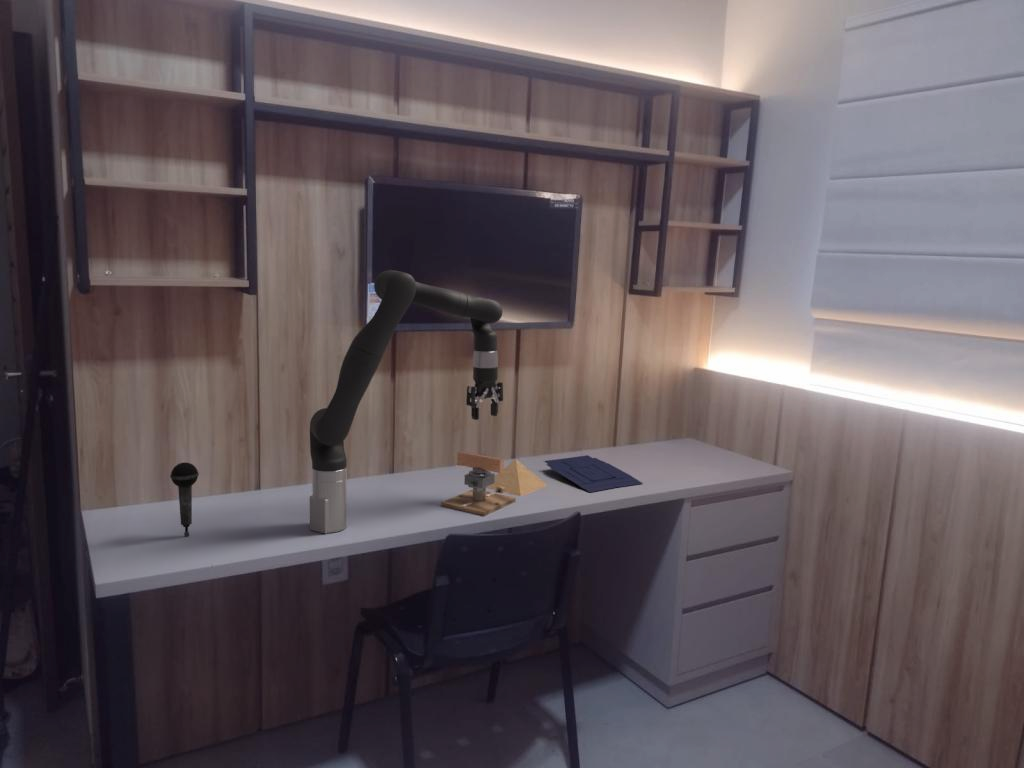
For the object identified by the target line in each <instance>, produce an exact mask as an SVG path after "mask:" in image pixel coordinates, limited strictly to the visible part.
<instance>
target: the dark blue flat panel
mask: <svg viewBox="0 0 1024 768" xmlns="http://www.w3.org/2000/svg"><path fill="white" fill-rule="evenodd" d="M543 462H544V463H545V464H546V465H545V466H547V467H549V468H550V469H551V470H553V471H554V472H555V473H558V474H560V475H561V476H562V477H564V478H566V479H568V480H570V481H571V482H572V483H574V484H576V485H577V486H579V487H580V488H582V489H584V490H585V491H587V492H589V493H593V492H601V491H603V490H609V489H615V488H620V487H628V486H634V485H635V486H636V485H643V484H644V482H641V481H640V480H638V478H635V477H634V476H632V475H630V474H629V473H627V472H625V471H623V470H621V468H617V467H616V466H614V465H612V464H610V463H609V462H606V461H603V460H600V459H599V458H597V457H592V456H590V455H580V456H572V457H567V458H565V457H564V458H558V459H549V460H543Z"/></svg>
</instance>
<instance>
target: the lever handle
mask: <svg viewBox="0 0 1024 768" xmlns="http://www.w3.org/2000/svg"><path fill="white" fill-rule="evenodd" d="M456 456H457V457H456V464H457V466H461V467H466V468H471V469H472V470H470V471H468V473H467V474H464V485H466V486H468V488H471V489H473V487H479V488H484V487H486V486H489V485H491V484H494V477H495V476H496V475H495V473H497V474H498V473H501V472H503V469H504V460H505V459H504V458H500V457H494V456H488V455H484V454H483V455H482V454H477V453H472V452H466V451H462V450H461V451H457V455H456Z"/></svg>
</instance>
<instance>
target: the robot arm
mask: <svg viewBox="0 0 1024 768" xmlns="http://www.w3.org/2000/svg"><path fill="white" fill-rule="evenodd" d="M373 288H374V292H375V294H376V296H377V297H378V298H379V299H380V303H379V305H378V307H377V310H376V312H375V313H374V315H373V316H372V317H371V319H370V320H369V321H368V322H367V323H366V324H365V325H364V326H363V327H362V328H361V330H360V331H358V332H357V334H356V335H355V337H354V338H353V339H352V342H351V343H350V345H349V347H348V349H347V352H346V354H345V356H344V358H343V360H342V364H341V367H340V372H339V376H338V379H337V380H338V381H337V385H336V389H335V391H334V394H333V396H332V398H331V399H330V402H329V403H328V406H327V407H324V408H321V409H318V410H317V411H316V412H315V413H314V414H313V415H312V417H311V419H310V422H309V450H310V452H309V454H310V458H311V470H312V471H311V474H312V475H311V477H312V478H311V483H312V485H311V486H312V487H311V488H312V489H311V491H312V493H311V494H312V495H310V496H309V530H312V531H315V532H318V533H321V534H328V533H329V534H330V533H336V532H337V533H338V532H340V531H344V530H346V528H347V526H348V522H347V519H348V518H347V517H348V515H347V514H348V513H347V512H348V509H347V505H348V504H347V503H348V502H347V501H348V500H347V499H348V498H347V497H348V495H347V494H348V492H347V489H348V488H347V484H348V483H347V481H348V480H347V479H348V478H347V474H348V473H347V472H348V471H347V470H348V468H347V467H348V465H347V462H348V460H347V455H346V452H345V443H344V442H345V440H346V438H347V437H348V435H349V434H350V430H351V427H352V425H353V421H354V420H355V419H354V418H355V416H356V414H357V410H358V408H359V405H360V403H361V402H362V399H363V398H364V395H365V393H366V392H367V390H368V388H369V386H370V384H371V382H372V380H373V377H374V375H375V373H376V371H377V369H378V368H379V365H380V363H381V362H382V359H383V357H384V354H385V352H386V350H387V348H388V346H389V344H390V342H391V340H392V338H393V335H394V333H395V331H396V329H397V327H398V325H399V323H400V322H401V321H402V318H403V317H404V315H405V314H406V312H407V310H408V308H409V307H410V306H411V304H412V305H413V304H414V305H419V306H421V307H426V308H428V309H431V310H435V311H438V312H441V313H443V314H448V315H450V316H451V315H452V316H456V317H460V318H470V324H471V328H472V329H471V330H472V334H473V338H474V339H473V342H474V343H473V350H474V351H473V358H472V363H473V364H472V379H473V381H474V386H472V385H467V386H466V400H465V401H466V403H465V404H466V406H467V407H470V408H471V415H470V416H471V419H472V420H474V421H477V420H480V405H481V403H482V402H483V401H484V400H486V399H488V400H489V401H490V416H493V417H496V416H498V413H499V404H500V402H503V401H504V385H503V382H500V381H498V377H499V376H498V374H499V372H498V371H499V367H498V366H499V355H498V334H497V333H496V332H495V331H493V329H492V327H491V324H496V323H497V322H499V321H500V319H502V316H503V307H502V305H501V304H500V303H499V302H498V301H496V300H494V299H490V298H484V297H479V296H474V295H470V294H468V293H465V292H461V291H457V290H454V289H450V288H444V287H440V286H435V285H430V284H425V283H422V282H418V281H416V280H415V278H414V277H413V276H412V275H411V274H409V273H407V272H403V271H399V270H394V269H393V270H392V269H388V270H385V271H382V272H380V273H379V274H378V275H377V276H376V277H375V279H374V284H373Z"/></svg>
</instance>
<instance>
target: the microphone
mask: <svg viewBox="0 0 1024 768" xmlns="http://www.w3.org/2000/svg"><path fill="white" fill-rule="evenodd" d="M199 475H200V473H199V471H198V468H197V467H196V466H195V465H194V464H193V463H190V462H180V463H178V464H176V465H175V466H174V467H173V468H172V470H171V473H170V476H169V477H170V479H171V481H172V483H173V484H174V485H175V486H177V487H178V489H177V490H178V501H179V504H178V505H179V513H180V516H179V517H180V525H181V526H182V527H184V532H183V535H184V537H189V536H190V531H189V527H190V526H191V525H192V523H193V522H192V518H193V516H192V515H193V514H192V513H193V509H192V508H193V507H192V506H193V504H192V503H193V489H192V487H193V485H194V484H195V483H196V482H197V480H198V478H199Z"/></svg>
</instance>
